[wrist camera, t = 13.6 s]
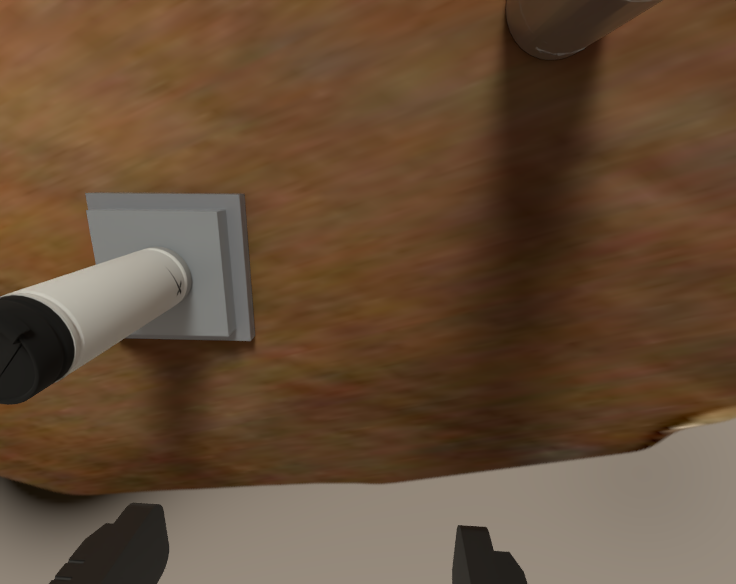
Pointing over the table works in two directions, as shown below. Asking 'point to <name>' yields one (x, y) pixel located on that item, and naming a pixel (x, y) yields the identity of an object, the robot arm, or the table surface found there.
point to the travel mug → (82, 317)
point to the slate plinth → (184, 256)
